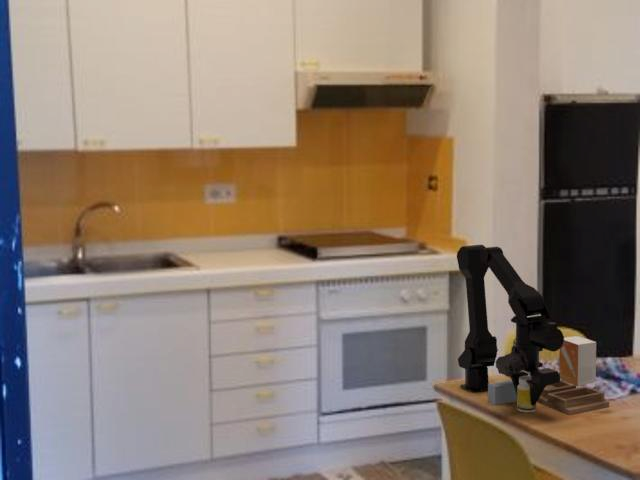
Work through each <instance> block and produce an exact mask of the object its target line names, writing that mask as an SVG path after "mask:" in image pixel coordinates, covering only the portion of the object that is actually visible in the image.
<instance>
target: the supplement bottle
mask: <svg viewBox="0 0 640 480" xmlns="http://www.w3.org/2000/svg"><path fill="white" fill-rule="evenodd" d="M527 380H532V379H531V376H521V377H519V385H518V386H517V401H516V403H517V406H516V408H517V410H518V412H521V413H535V412H536V411H537V404H536V405H534V406H532V405H531V400H530V386H529V385H528V384H527V382H526V381H527Z"/></svg>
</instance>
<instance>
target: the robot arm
mask: <svg viewBox="0 0 640 480" xmlns="http://www.w3.org/2000/svg"><path fill="white" fill-rule="evenodd" d="M456 261H457V265H458V269H459V271H460V272H461V274H462V276H463V277H464V278H465V285H466V289H465V290H466V300H467V314H468V327H469V331H468V333H467V336H466V338H465V340H464V350H463V352H462V353H461V354H460V355H459V357H458V358H457V363H458V367H459V368H462V369H464V371H465V372H464V376H465V378H464V379H465V380H464V382H465V383H464V384H460V387H461V388H463V389H465V390H467V391H470V392H472V393H477V392H482V391H488V384H489V367H494V366H495V368H496V369H497V371H498V372H497V373H498V374H500V375H504V376H505V377H508V378H510V380H512V382H513V384H514V388H515V391H516V394H517V386H518V385H519V377H521V376H528V374H530V375H531V379H532V380H527V381H526V382H527V384H528V385H529V386H530V400H531V405H532V406H534V405H536V406H537V403H538V402H537V401H538V399H539V397H540V395H541V394H542V392H543V390H544V388H545V387H546V385H549V384H554V383H560V373H559V370H558V371H557V370H555V369H552V368H549V367H546V368H543V364H544V363H543V362H541V361H540V362H539V351H540V352H543V351H544V350H546V351H550V352H553V353H555V352H557V351H558V350H559V351H560V348H561V346H562V345H563V342H564V338H565V337H564V334H563V331H562V330H561V329H559V328H558V323H557V322H552V321H553V318H552V316H551V312H550V311H549V309H548V307H547V303H546V301H545V299H544V297H543V295H542V294H541V293H540V292H539V291H538V290H537V289H536V288H535V287H533V286H531V285H529V284H527V283H525V282H524V281H523V280H522V278H521V276H520V275H519V274H518V272H517V271H516V270H515V268H514V267H513V266H512V264H511V263H510V262H509V260H508V259H507V258H506V256H505V255H504V251H503V249H502V248H501V247H499V246H490V247H489V246H487V247H486V246H485V244H474V245H473V244H472V245H464V246H461V247H460V248H459V250H458V251H457V252H456ZM489 269H490V270H491V272H492V274H494V277H495V278H496V280H497V281H498V282H499V284H500V285H501V287H502V288H503V289H504V291H505V292H506V294H507V297H508V300H507V302H508V304H509V307H510V309H511V310H512V312H513V315H514V314H515V315H516V316H515V317H513V316H512V317H511V319H510V322H511V323H513V324H515V334H516V345H514V346H513V345H512V346H511V348H510V349H511V351H510V353H506V354H505V355H503V356H497V355H498V351H499V350H498V344H497V341H498V340H497V339H498V338H497V337H496V336H495V335H494V336H493V335H492V334H491V332H490V331H489V326H488V324H489V323H488V311H487V310H488V309H487V298H486V297H487V296H486V285H485V277H486V274H487V272H488V271H489ZM539 314H540V316H534V315H539ZM527 316H533V317H527ZM496 358H497V359H496ZM539 367H540V369H538V368H539ZM530 370H531V371H530Z"/></svg>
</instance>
